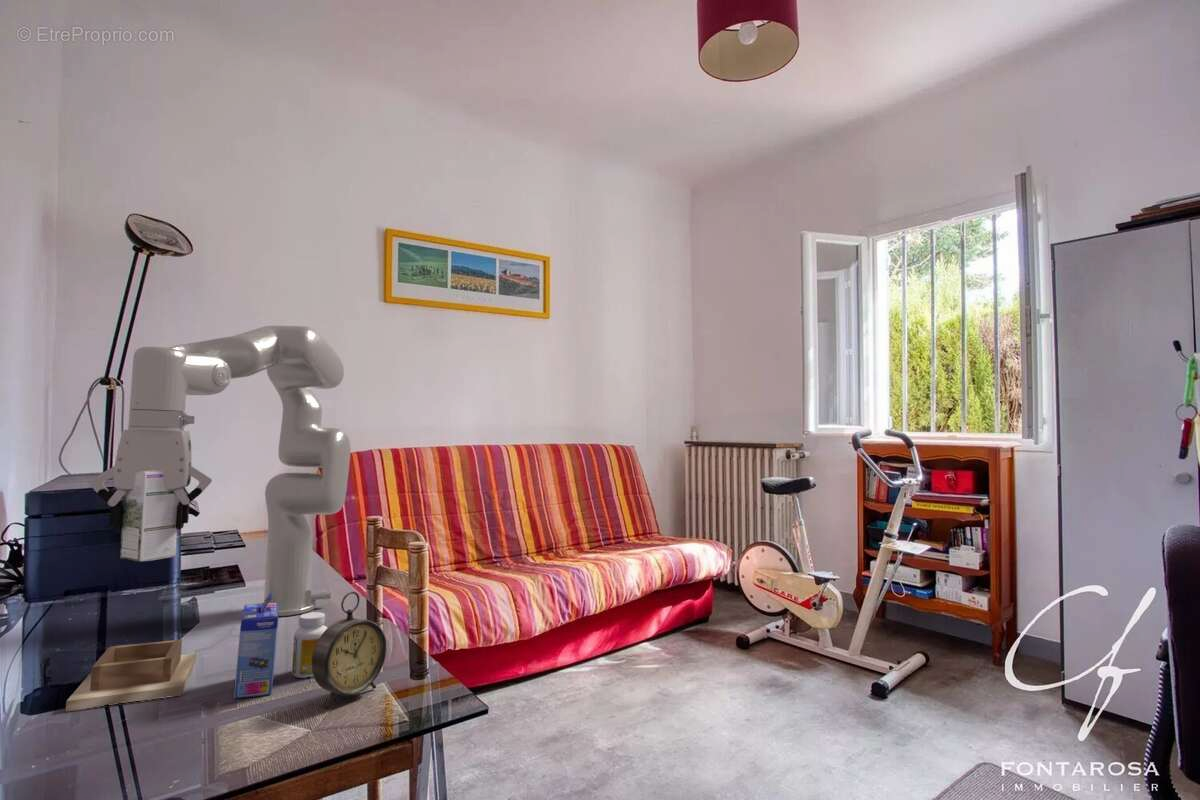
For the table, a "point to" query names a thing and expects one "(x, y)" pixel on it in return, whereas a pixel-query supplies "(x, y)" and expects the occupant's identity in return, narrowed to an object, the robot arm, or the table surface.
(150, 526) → the syrup box
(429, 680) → the table surface
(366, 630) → the alarm clock
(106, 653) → the desk stand
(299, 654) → the supplement bottle
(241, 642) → the ink cartridge box
